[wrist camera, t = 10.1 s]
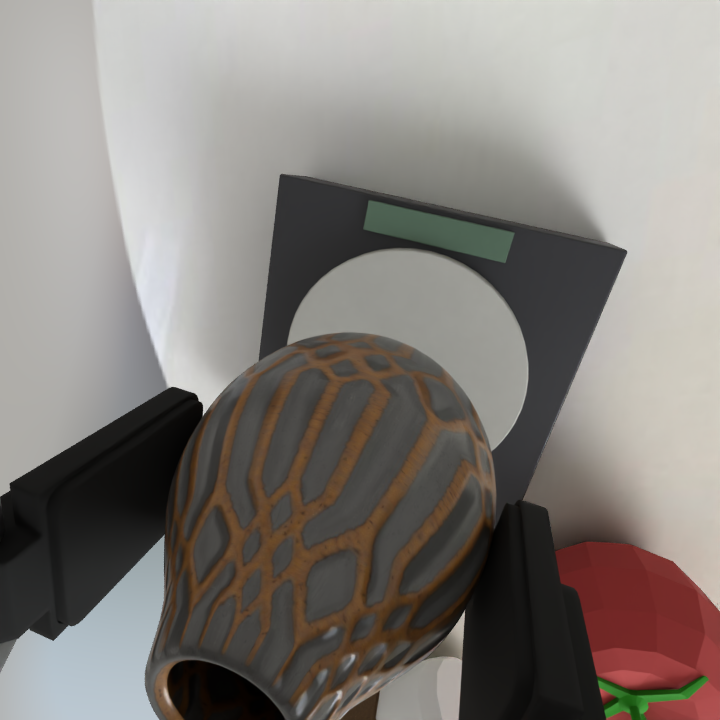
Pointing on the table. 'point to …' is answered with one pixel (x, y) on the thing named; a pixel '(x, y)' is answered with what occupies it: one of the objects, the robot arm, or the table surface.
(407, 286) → the scale
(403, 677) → the coffee cup
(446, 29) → the table surface
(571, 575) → the tomato
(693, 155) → the table surface
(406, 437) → the vase
